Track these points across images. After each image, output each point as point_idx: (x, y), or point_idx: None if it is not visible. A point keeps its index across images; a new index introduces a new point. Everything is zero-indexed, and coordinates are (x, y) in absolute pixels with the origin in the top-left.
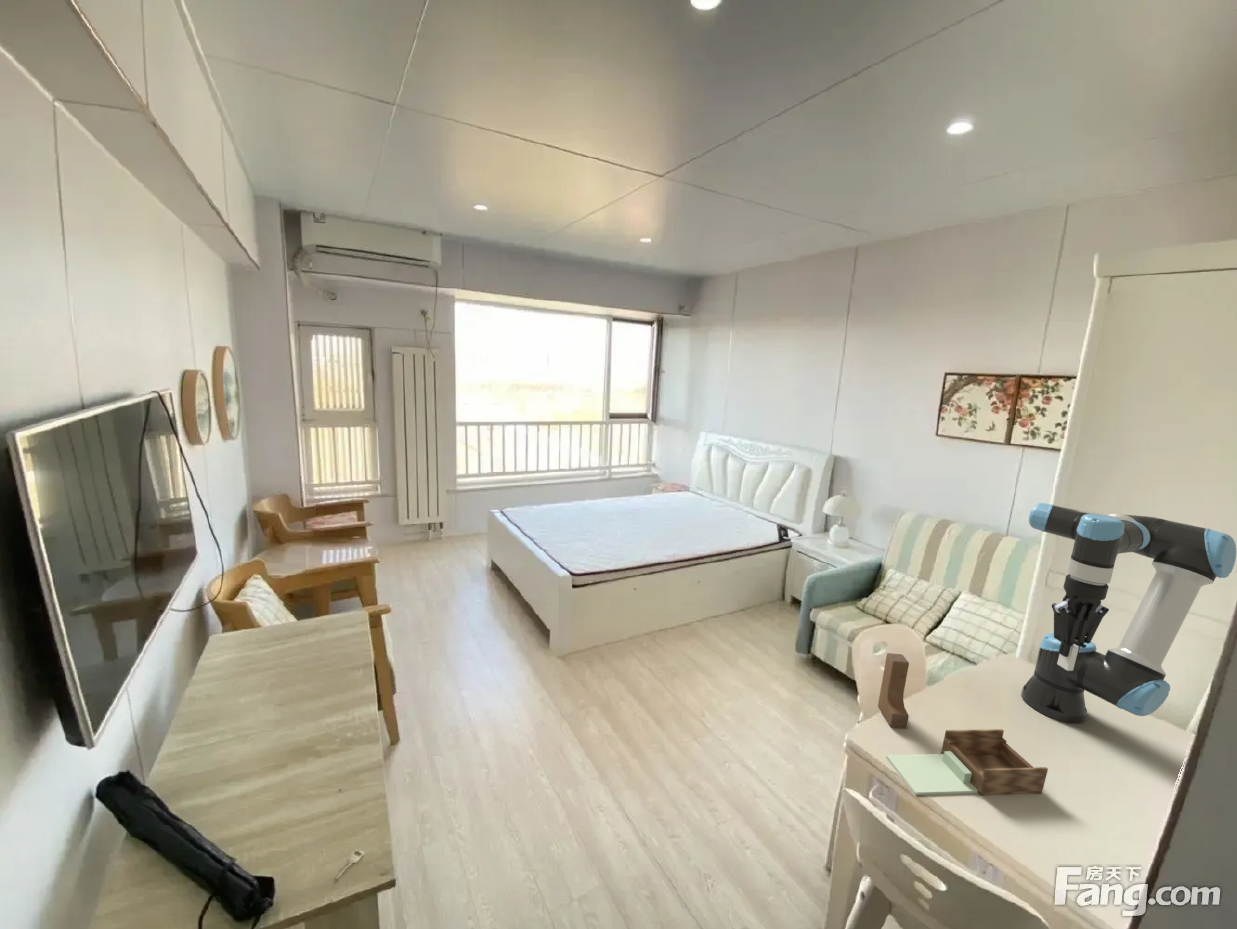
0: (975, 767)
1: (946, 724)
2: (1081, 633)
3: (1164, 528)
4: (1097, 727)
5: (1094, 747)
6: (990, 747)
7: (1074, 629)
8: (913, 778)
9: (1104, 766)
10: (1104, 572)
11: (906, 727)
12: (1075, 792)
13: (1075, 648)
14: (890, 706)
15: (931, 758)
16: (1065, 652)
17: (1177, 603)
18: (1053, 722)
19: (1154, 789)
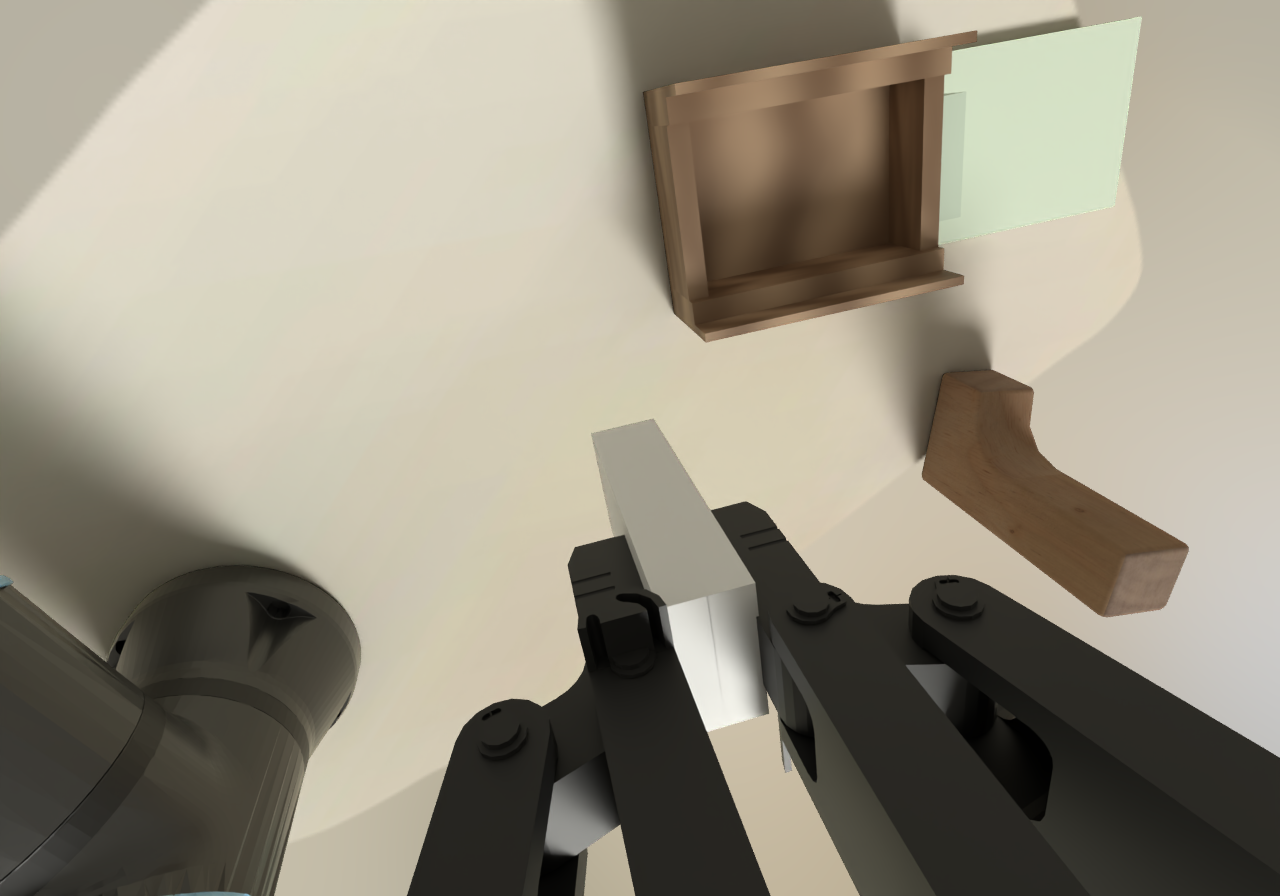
0: (926, 114)
1: (774, 434)
2: (746, 836)
3: None
4: (106, 569)
5: (206, 432)
6: (747, 283)
7: (1026, 868)
8: (1099, 94)
9: (235, 315)
10: None
11: (947, 375)
12: (484, 122)
13: (706, 575)
14: (1028, 423)
15: (967, 217)
16: (770, 533)
17: None
18: (306, 551)
19: (70, 200)
